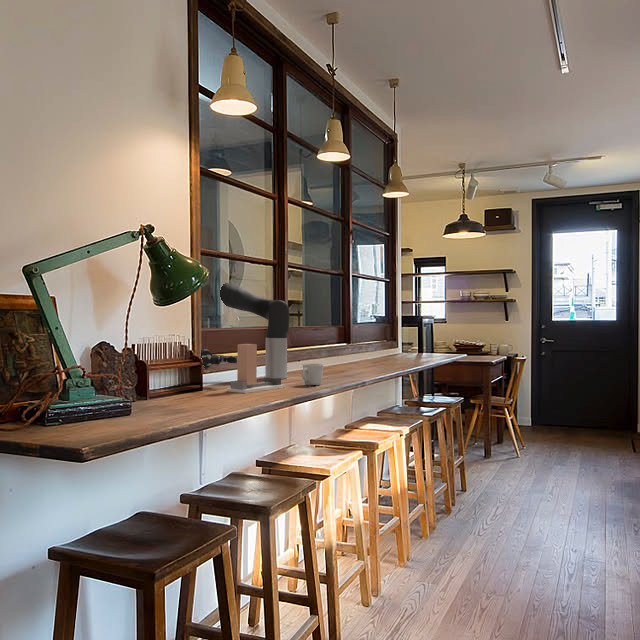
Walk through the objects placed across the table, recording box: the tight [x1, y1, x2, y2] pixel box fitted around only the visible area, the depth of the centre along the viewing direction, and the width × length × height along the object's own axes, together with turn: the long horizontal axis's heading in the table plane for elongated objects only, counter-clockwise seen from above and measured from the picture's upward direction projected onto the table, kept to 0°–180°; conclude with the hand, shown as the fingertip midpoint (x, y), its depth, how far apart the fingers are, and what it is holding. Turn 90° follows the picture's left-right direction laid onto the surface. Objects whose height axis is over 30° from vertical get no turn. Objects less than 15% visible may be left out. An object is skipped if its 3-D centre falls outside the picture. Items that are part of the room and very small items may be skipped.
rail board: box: [226, 376, 286, 394], centre depth 216 cm, size 21×9×4 cm, turn 143°
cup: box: [301, 363, 324, 386], centre depth 230 cm, size 11×8×8 cm
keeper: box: [236, 343, 258, 385], centre depth 212 cm, size 5×4×14 cm
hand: (227, 360), depth 217 cm, fingers open, 8 cm apart
